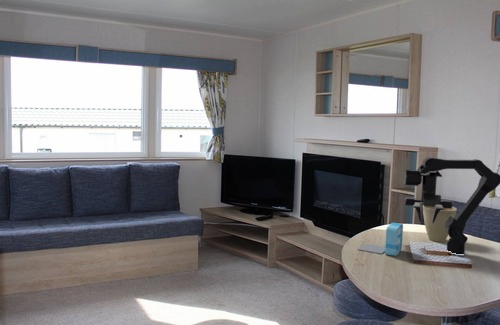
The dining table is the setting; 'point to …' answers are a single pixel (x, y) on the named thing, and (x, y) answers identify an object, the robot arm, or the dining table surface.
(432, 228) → the plant pot
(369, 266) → the dining table surface
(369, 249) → the gray flat panel
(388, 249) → the data package
